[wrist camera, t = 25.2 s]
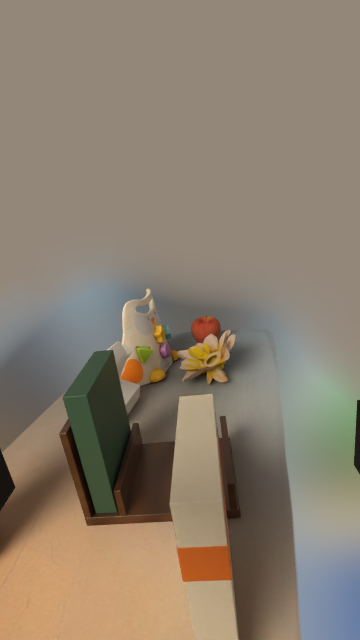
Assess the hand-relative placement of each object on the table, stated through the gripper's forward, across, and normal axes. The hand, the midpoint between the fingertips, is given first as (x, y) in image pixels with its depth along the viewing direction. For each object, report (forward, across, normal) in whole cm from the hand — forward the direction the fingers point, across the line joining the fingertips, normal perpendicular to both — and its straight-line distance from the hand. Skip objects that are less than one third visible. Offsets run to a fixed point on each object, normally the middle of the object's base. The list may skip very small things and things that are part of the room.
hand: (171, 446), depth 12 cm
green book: (+24, -13, -24) cm, 36 cm away
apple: (+67, +1, -26) cm, 72 cm away
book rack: (+24, -6, -26) cm, 35 cm away
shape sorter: (+56, -12, -26) cm, 63 cm away
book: (+10, 0, -26) cm, 27 cm away
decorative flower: (+52, 0, -26) cm, 58 cm away
